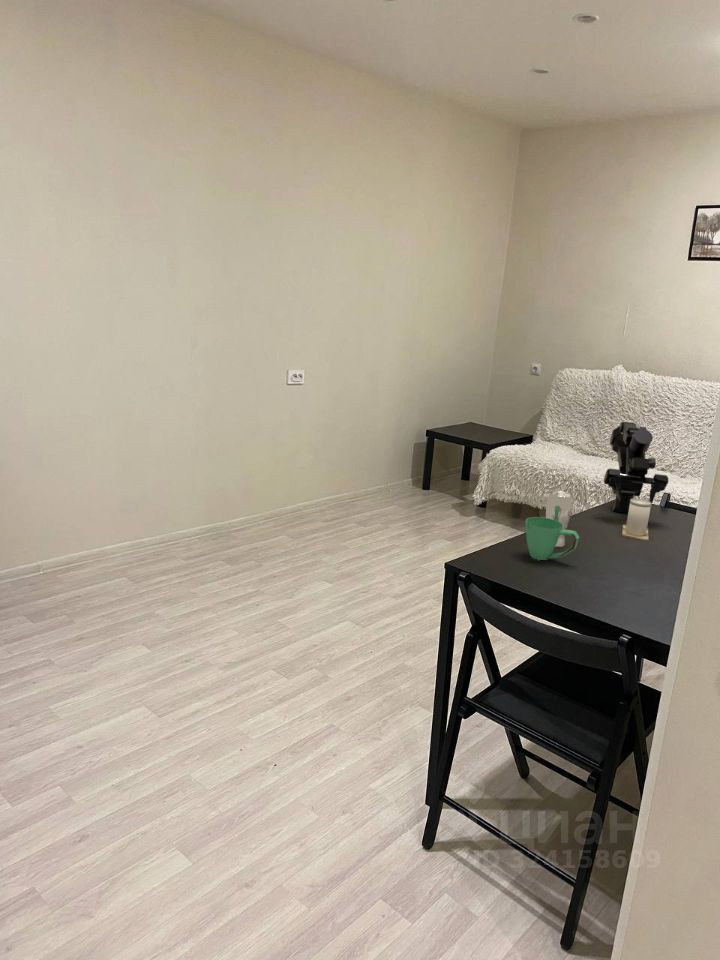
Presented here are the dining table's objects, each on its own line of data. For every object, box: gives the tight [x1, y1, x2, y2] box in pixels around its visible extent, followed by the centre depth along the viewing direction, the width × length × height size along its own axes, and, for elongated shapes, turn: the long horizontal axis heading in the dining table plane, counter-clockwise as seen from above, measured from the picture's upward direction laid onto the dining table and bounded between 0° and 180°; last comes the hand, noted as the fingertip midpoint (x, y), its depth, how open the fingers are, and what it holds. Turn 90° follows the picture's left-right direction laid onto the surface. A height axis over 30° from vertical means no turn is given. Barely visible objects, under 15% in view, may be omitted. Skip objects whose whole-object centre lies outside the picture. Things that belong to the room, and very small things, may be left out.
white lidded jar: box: [625, 498, 653, 536], centre depth 223 cm, size 6×6×10 cm
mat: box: [621, 524, 649, 542], centre depth 226 cm, size 12×8×1 cm, turn 160°
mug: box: [524, 516, 580, 561], centre depth 196 cm, size 15×10×10 cm
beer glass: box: [545, 490, 574, 548], centre depth 209 cm, size 7×7×15 cm
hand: (635, 502), depth 230 cm, fingers open, 9 cm apart
